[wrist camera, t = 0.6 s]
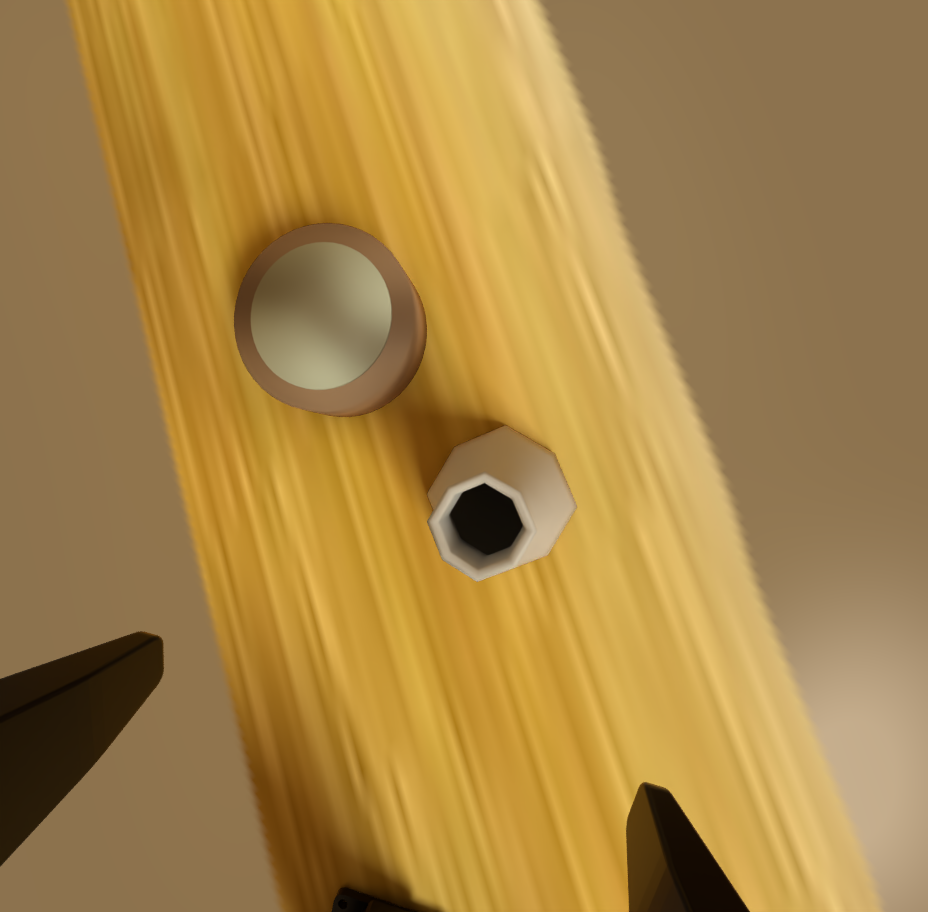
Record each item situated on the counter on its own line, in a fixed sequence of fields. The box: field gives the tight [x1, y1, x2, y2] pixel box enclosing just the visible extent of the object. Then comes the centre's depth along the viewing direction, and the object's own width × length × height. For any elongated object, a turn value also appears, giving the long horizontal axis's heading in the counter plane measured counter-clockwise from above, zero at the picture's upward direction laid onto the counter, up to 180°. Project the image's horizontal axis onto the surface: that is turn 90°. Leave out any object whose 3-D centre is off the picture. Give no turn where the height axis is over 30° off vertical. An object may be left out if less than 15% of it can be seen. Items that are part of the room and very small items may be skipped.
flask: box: [427, 425, 577, 582], centre depth 19 cm, size 7×7×10 cm
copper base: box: [234, 223, 427, 417], centre depth 24 cm, size 9×9×3 cm
